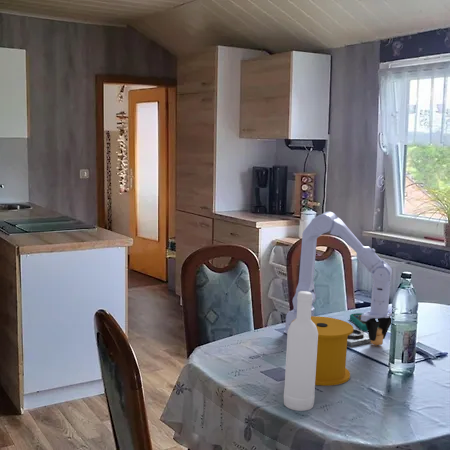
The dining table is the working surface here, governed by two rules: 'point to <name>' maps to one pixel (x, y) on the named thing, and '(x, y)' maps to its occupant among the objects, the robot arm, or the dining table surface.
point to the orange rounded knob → (378, 338)
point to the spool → (331, 350)
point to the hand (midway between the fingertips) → (376, 338)
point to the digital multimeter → (358, 321)
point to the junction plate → (358, 338)
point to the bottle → (301, 357)
